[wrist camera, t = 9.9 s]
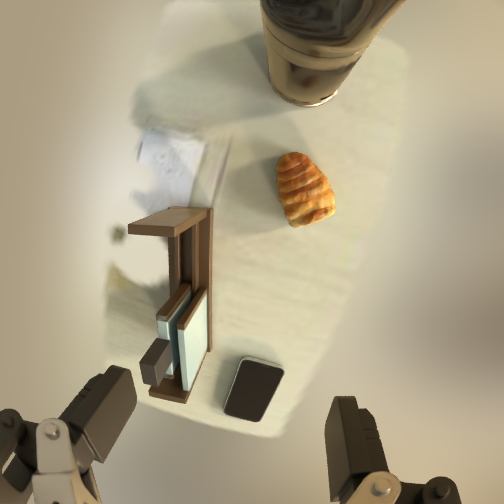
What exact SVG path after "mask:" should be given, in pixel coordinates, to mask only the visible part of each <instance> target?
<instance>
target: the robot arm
mask: <svg viewBox="0 0 504 504" xmlns="http://www.w3.org/2000/svg"><path fill="white" fill-rule="evenodd" d="M406 1H407V0H260V9H261V15H262V21H263V28H264V34H265V41H266V49H267V56H268V64H269V78H270V82H271V85H272V87H273V89H274V90H275V92H276V93H277V94H278V95H279V96H280V97H281V98H282V99H284V100H285V101H287V102H289V103H291V104H293V105H296V106H301V107H314V106H319V105H322V104H324V103H326V102H327V101H329V100H330V99H331V98H332V97H333V96H334V95H336V94H337V93H338V92H337V91H338V89H339V87H340V85H341V84H342V83H343V81H344V80H345V78H346V77H347V75H348V74H349V73H350V71H351V70H352V68H353V67H354V66H355V64H356V63H357V61H358V60H359V59H360V57H361V56H362V54H363V53H364V51H365V50H366V48H367V47H368V46H369V44H370V43H371V41H372V40H373V39H374V38H375V37H376V35H377V34H378V33H379V31H380V30H381V29H382V27H383V26H384V25H385V24H386V22H387V21H388V20H389V19H390V18H391V17H392V16H393V15H394V13H395V12H396V11H397V10H398V9H399V8H400V7H401V6H402V5H403V4H404V3H405V2H406ZM336 92H337V93H336ZM136 403H137V395H136V391H135V387H134V383H133V378H132V374H131V371H130V370H129V369H126V368H122V367H119V366H115V365H111V366H110V367H109V368H108V369H107V371H106V372H105V373H104V374H98V375H97V376H95V377H93V378H91V379H90V380H89V381H88V382H87V384H86V385H85V386H84V388H83V389H82V390H81V391H80V392H79V394H78V395H77V396H76V397H75V398H74V399H73V401H72V402H71V403H70V404H69V406H68V407H67V408H66V409H65V411H64V412H63V413H62V414H61V416H60V417H59V418H58V419H56V418H49V419H45V420H43V421H42V422H41V423H40V424H39V423H33V422H29V421H25V420H23V419H22V417H21V416H20V414H19V413H18V412H17V411H16V410H14V409H4V410H2V411H0V504H26V503H27V501H28V500H29V498H30V496H31V494H32V492H33V493H34V500H35V504H102V502H101V498H100V495H99V492H98V489H97V485H96V481H95V478H94V474H93V471H92V467H91V463H92V462H93V460H96V461H98V462H100V463H104V461H105V459H106V458H107V456H108V454H109V452H110V450H111V449H112V447H113V445H114V443H115V442H116V440H117V438H118V437H119V435H120V433H121V431H122V430H123V428H124V426H125V424H126V422H127V421H128V419H129V417H130V415H131V414H132V412H133V411H134V409H135V406H136ZM379 437H380V436H379V433H378V430H377V426H376V422H375V419H374V417H373V416H372V414H371V413H370V412H369V411H368V410H367V409H358V405H357V401H356V398H355V396H335V397H334V399H333V402H332V405H331V408H330V411H329V414H328V417H327V420H326V424H325V443H326V453H327V464H328V475H329V488H330V501H331V502H340V504H461V500H460V496H459V493H458V490H457V487H456V484H455V483H454V482H453V481H452V480H451V479H449V478H447V477H435V478H433V479H431V480H429V481H428V482H427V483H426V484H414V483H404V482H401V481H399V479H398V478H397V477H396V476H395V475H393V474H391V473H390V472H389V469H388V466H387V462H386V459H385V454H384V451H383V447H382V443H381V440H380V439H379ZM12 452H14V453H15V454H16V455H15V456H14V458H13V459H12V461H11V463H10V464H9V466H8V467H7V469H6V470H5V472H4V473H3V474H2V468H3V466H4V464H5V463H6V461H7V460H8V458H9V457H10V455H11V454H12Z"/></svg>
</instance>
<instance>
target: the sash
mask: <svg viewBox="0 0 504 504" xmlns="http://www.w3.org/2000/svg"><path fill="white" fill-rule="evenodd" d="M191 301H192V283H189V282H183V283H182V284H181V285H180V287H179V288H178V289H177V290H176V291H175V292H174V294H173V295H172V296H171V297H170V298H169V300H168V301H167V302H166V303H165V304H164V306H163V307H162V308H161V309H160V310H159V312H158V313H157V314H156V320H157V325H158V334H159V338H156V339H155V341H154V342H153V344H152V345H151V346H150V348H149V349H148V351H147V352H146V353H145V355H144V356H143V358H142V359H141V361H140V362H139V364H140V369H141V374H142V379H143V383H144V384H148V385H152V386H157V387H158V386H159V385H160V383H161V381H162V379H163V377H165V378H170V379H174V377H175V375H176V373H177V371H178V369H179V367H180V365H181V364H180V353H179V342H178V330H177V322H178V321H179V319H180V318H181V316H182V315H183V313H184V312H185V310H186V309H187V307H188V306H189V304H190V303H191Z"/></svg>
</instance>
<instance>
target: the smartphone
mask: <svg viewBox="0 0 504 504" xmlns="http://www.w3.org/2000/svg"><path fill="white" fill-rule="evenodd" d="M284 373H285V369H284V367H283V366H282V365H279V364H275V363H271V362H268V361H264V360H260V359H257V358H253V357H249V356H245V357H243V358H242V359H241V361H240V364H239V366H238V369H237V372H236V375H235V378H234V380H233V383H232V386H231V389H230V392H229V395H228V397H227V400H226V403H225V406H224V409H223V413H224V414H225V415H228V416H232V417H235V418H239V419H243V420H247V421H251V422H260V421H261V419H262V417H263V415H264V414H265V412H266V410H267V408H268V406H269V404H270V402H271V400H272V398H273V396H274V394H275V392H276V390H277V388H278V386H279V384H280V382H281V380H282V378H283V376H284Z"/></svg>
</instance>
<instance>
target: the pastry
mask: <svg viewBox="0 0 504 504" xmlns="http://www.w3.org/2000/svg"><path fill="white" fill-rule="evenodd" d="M276 168H277V186H278V189H279V195H278V198H279V200H280V202H281V203H282V205H283V208H284V210H285V215H286V217H287V218H288V220H289V224H290V226H292V227H295V228H297V227H302V226H305V225H309V224H313V223H316V222H319V221H321V220H323V219H324V218H327V217H329V216H331V215H332V214H333V213H334V212H335V210H336V207H335V203H334V201H335V198H334V193H333V191H332V189H331V188H330V185H329V183H328V180H327V178H326V177H325V176H324V174H323V173H322V172H321V171H320V170H319V169H318V167H317V166H316V165H315V164H314V163H313V162H312V161H311V160H310V159H309V158H308V156H306V155H303V154H301V153H298V152H292V153H289V154H286V155H283V156H282V157H281V158H280V160H279V162H278V164H277V166H276Z"/></svg>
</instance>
